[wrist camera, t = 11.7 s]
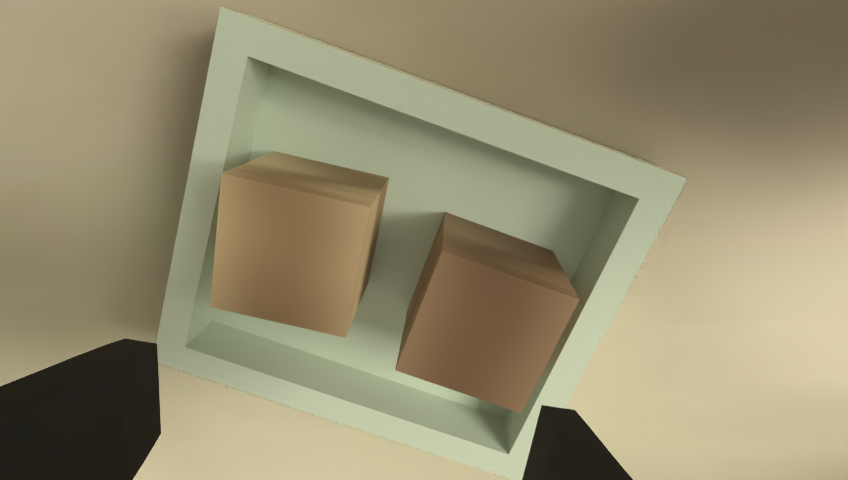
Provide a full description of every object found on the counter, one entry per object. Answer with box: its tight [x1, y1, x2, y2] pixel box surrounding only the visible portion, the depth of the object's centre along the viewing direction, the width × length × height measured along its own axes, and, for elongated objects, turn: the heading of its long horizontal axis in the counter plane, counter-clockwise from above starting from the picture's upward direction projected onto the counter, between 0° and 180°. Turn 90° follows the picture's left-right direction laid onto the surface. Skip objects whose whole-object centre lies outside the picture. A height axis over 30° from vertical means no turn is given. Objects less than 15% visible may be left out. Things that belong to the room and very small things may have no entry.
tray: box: [156, 6, 687, 480], centre depth 17 cm, size 14×12×3 cm
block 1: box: [210, 151, 389, 338], centre depth 16 cm, size 4×4×4 cm
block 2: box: [395, 212, 580, 413], centre depth 16 cm, size 4×4×4 cm
